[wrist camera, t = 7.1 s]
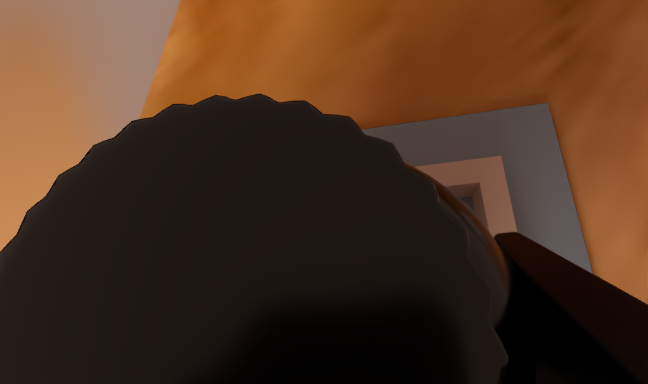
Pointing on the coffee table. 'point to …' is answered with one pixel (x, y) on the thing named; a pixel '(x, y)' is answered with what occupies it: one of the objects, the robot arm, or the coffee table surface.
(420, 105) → the coffee table surface
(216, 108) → the supplement bottle
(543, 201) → the dock tray
